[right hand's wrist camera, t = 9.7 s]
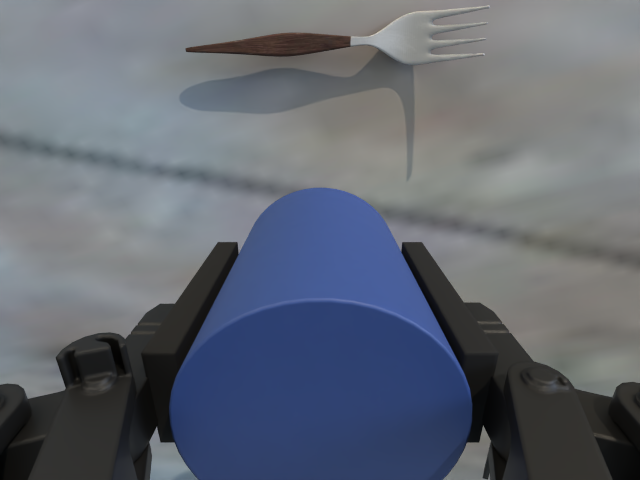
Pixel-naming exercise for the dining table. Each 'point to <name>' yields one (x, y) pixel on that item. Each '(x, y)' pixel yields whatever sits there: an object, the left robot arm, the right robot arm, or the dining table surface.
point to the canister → (320, 358)
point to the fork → (362, 40)
